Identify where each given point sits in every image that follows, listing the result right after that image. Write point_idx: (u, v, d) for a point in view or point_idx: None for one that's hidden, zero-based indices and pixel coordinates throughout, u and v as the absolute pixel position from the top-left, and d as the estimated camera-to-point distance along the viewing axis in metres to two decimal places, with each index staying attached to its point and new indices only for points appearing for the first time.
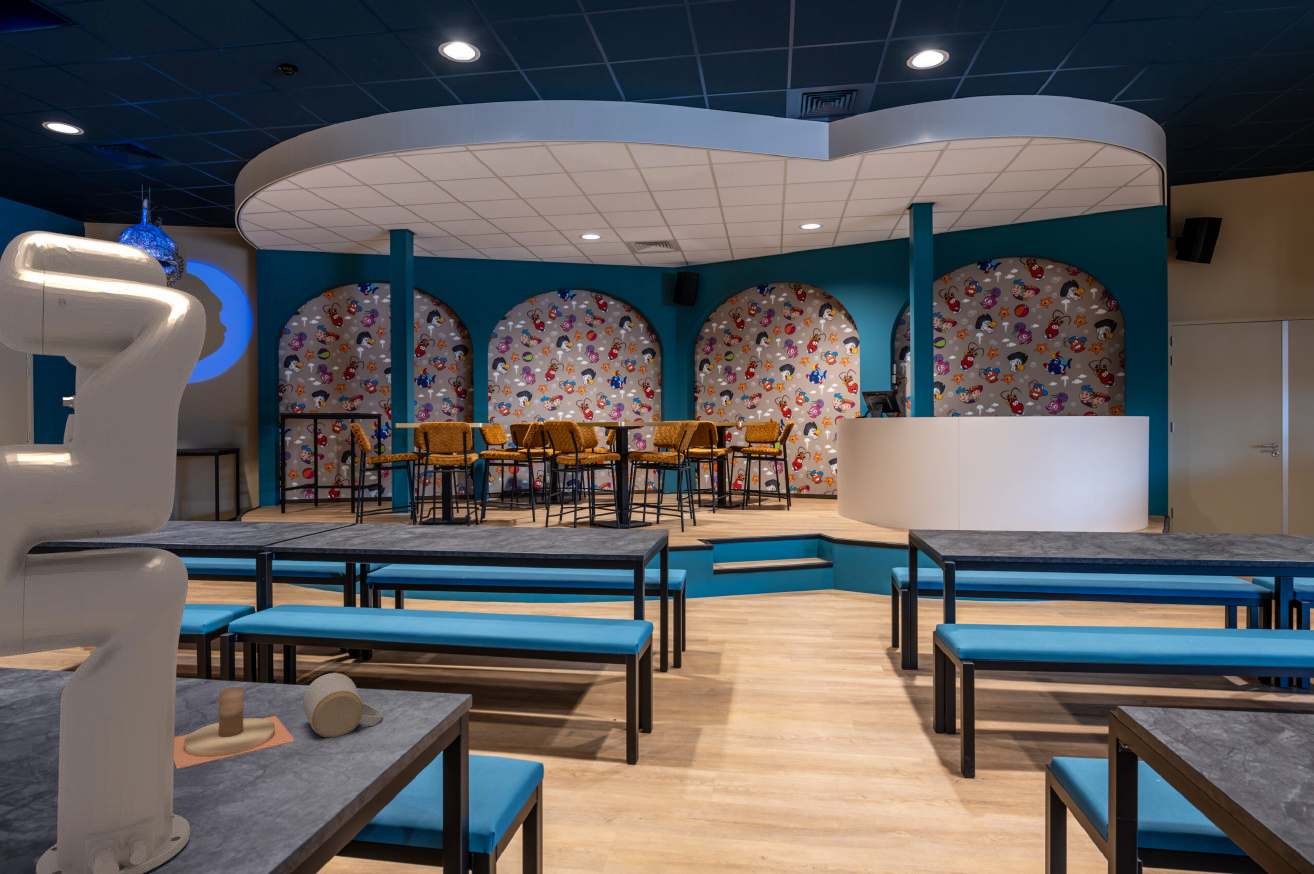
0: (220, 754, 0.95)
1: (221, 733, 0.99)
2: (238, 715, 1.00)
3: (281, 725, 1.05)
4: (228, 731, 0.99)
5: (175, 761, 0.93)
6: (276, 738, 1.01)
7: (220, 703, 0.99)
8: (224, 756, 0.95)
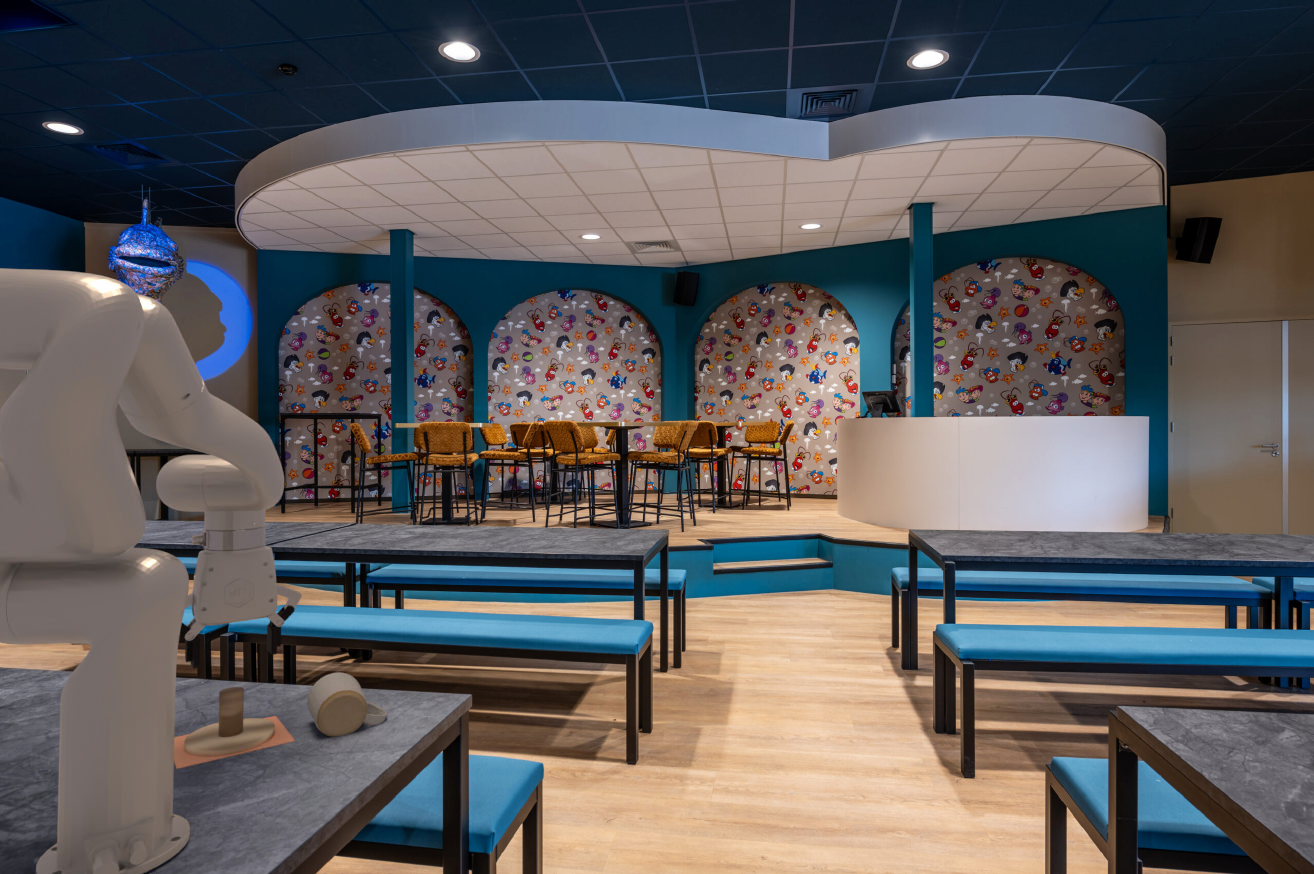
0: (220, 754, 0.95)
1: (221, 733, 0.99)
2: (238, 715, 1.00)
3: (281, 725, 1.05)
4: (228, 731, 0.99)
5: (175, 761, 0.93)
6: (276, 738, 1.01)
7: (220, 703, 0.99)
8: (224, 756, 0.95)
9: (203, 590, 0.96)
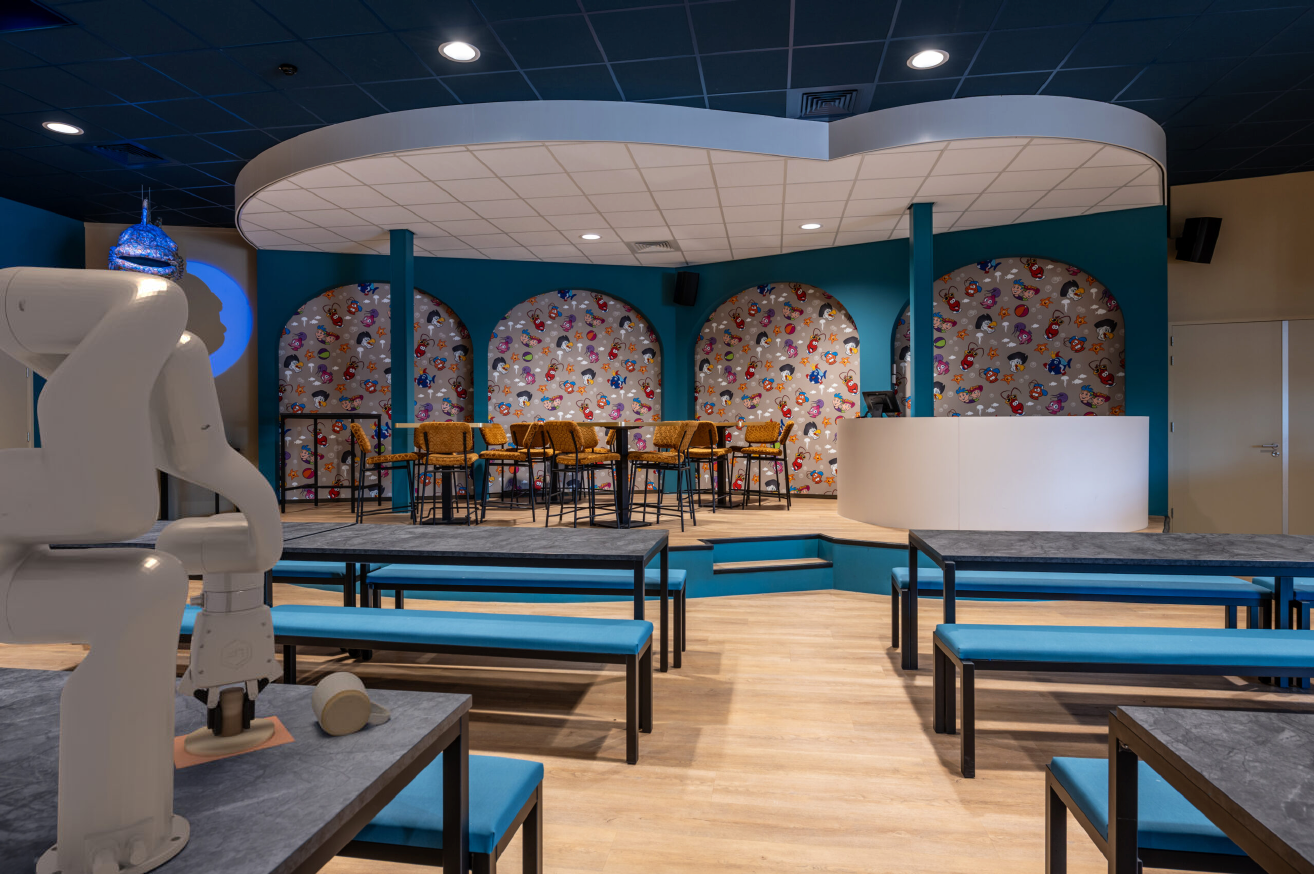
0: (220, 753, 0.95)
1: (221, 733, 0.99)
2: (238, 715, 1.00)
3: (281, 725, 1.05)
4: (228, 731, 0.99)
5: (175, 761, 0.93)
6: (276, 738, 1.01)
7: (220, 703, 0.99)
8: (224, 756, 0.95)
9: (200, 652, 0.96)
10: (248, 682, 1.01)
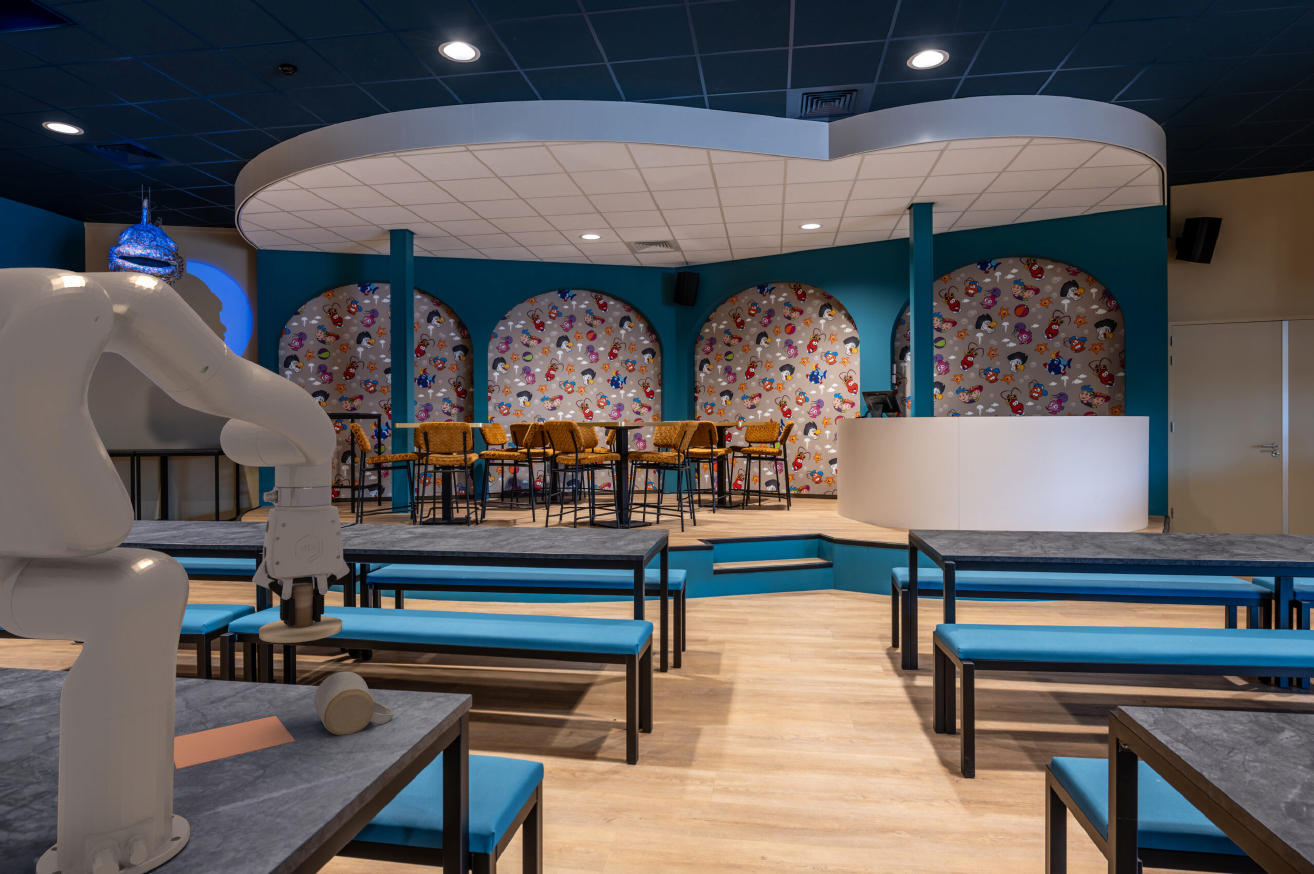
0: (297, 640, 0.99)
1: None
2: (309, 608, 1.04)
3: (281, 725, 1.05)
4: (300, 622, 1.03)
5: (175, 761, 0.93)
6: (276, 738, 1.01)
7: (292, 596, 1.03)
8: (224, 756, 0.95)
9: (276, 544, 1.00)
10: (318, 577, 1.05)
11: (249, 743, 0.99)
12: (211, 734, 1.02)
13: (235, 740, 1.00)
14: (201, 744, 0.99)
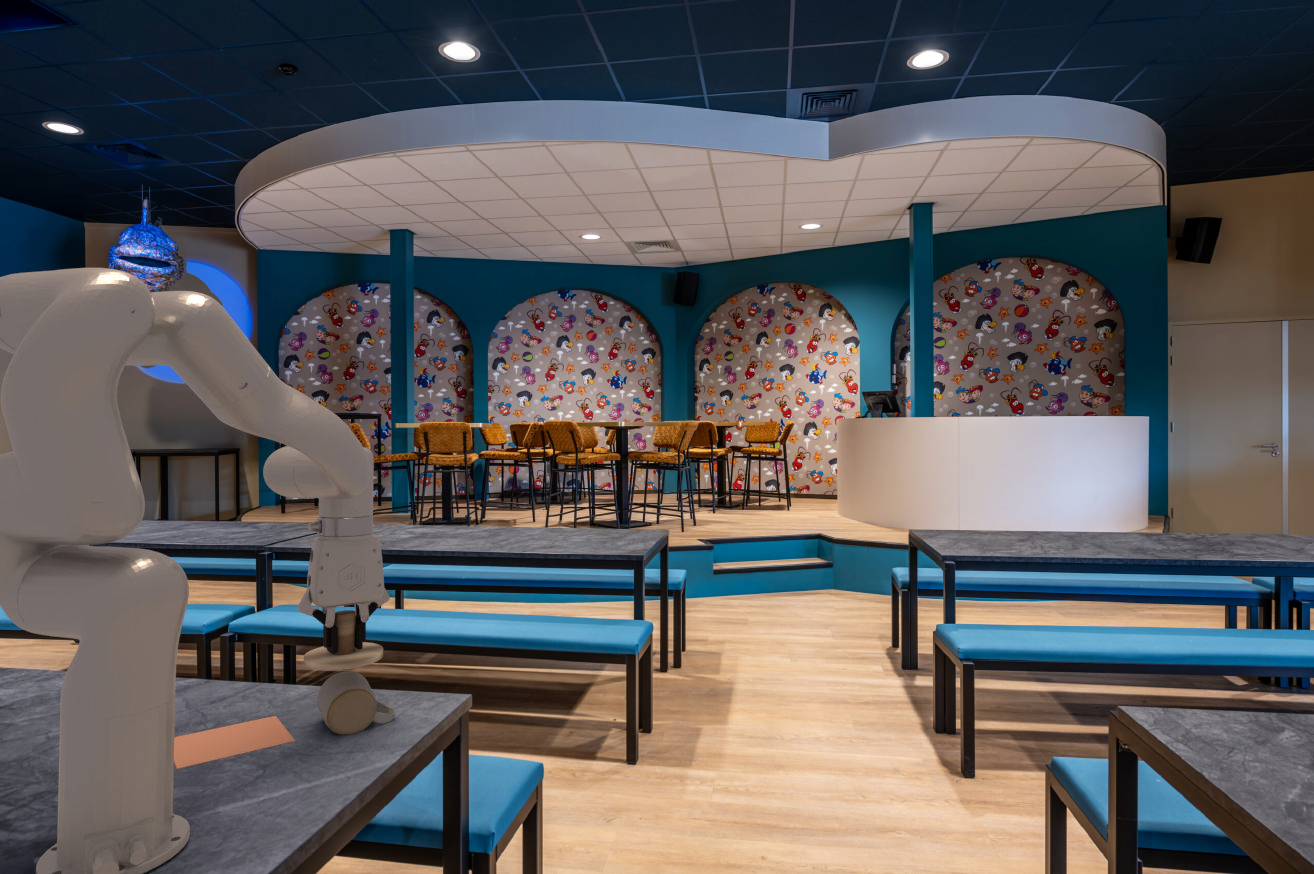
0: (340, 668, 1.01)
1: None
2: (352, 635, 1.06)
3: (281, 725, 1.05)
4: (343, 650, 1.05)
5: (175, 761, 0.93)
6: (276, 738, 1.01)
7: (335, 623, 1.05)
8: (224, 756, 0.95)
9: (320, 574, 1.02)
10: (360, 605, 1.07)
11: (249, 743, 0.99)
12: (211, 734, 1.02)
13: (235, 740, 1.00)
14: (201, 744, 0.99)
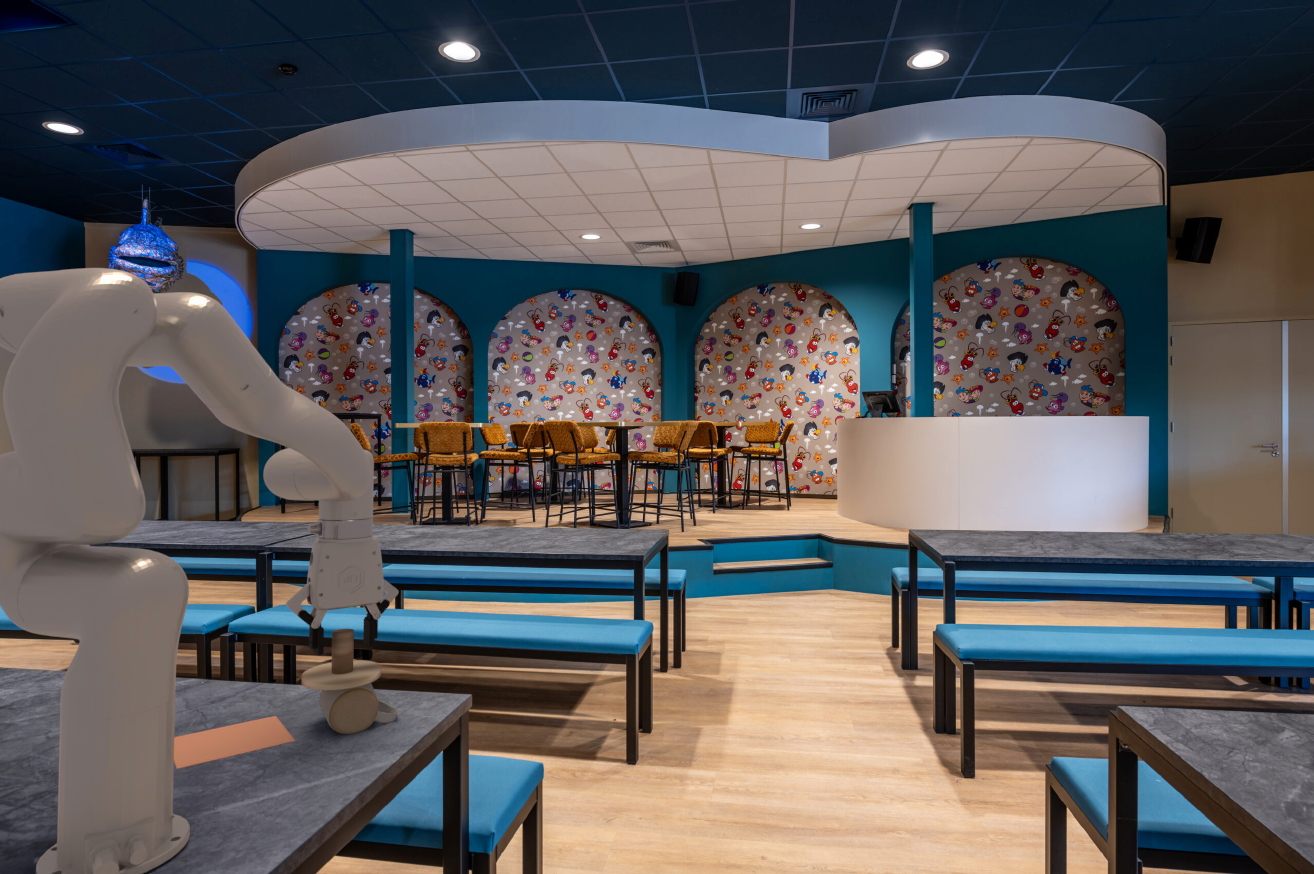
0: (336, 688, 1.01)
1: (334, 670, 1.05)
2: (349, 654, 1.06)
3: (281, 725, 1.05)
4: (341, 669, 1.05)
5: (175, 761, 0.93)
6: (276, 738, 1.01)
7: (333, 642, 1.05)
8: (224, 756, 0.95)
9: (320, 576, 1.02)
10: (368, 605, 1.07)
11: (249, 743, 0.99)
12: (211, 734, 1.02)
13: (235, 740, 1.00)
14: (201, 744, 0.99)
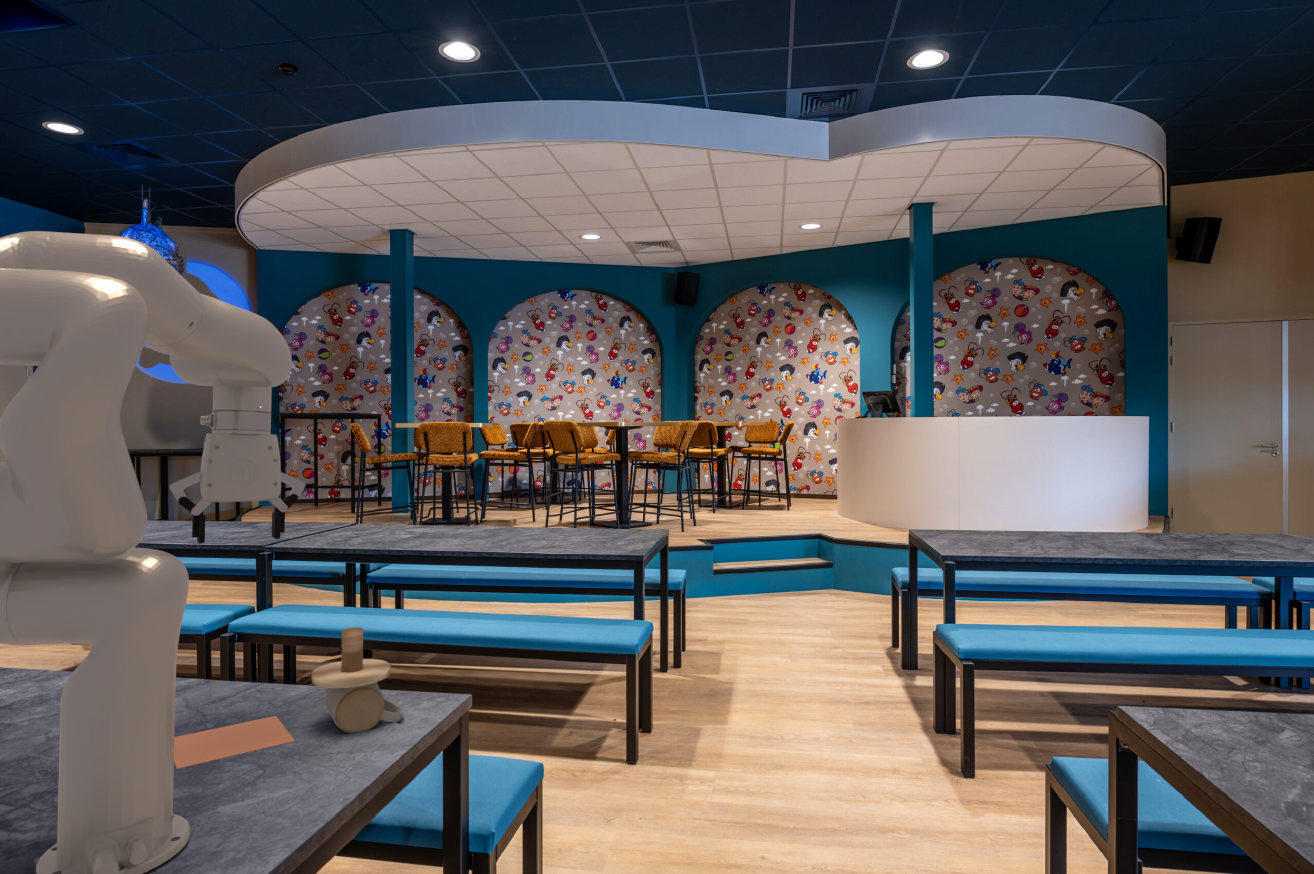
0: (345, 686, 1.02)
1: (344, 669, 1.06)
2: (359, 653, 1.07)
3: (281, 725, 1.05)
4: (350, 667, 1.06)
5: (175, 761, 0.93)
6: (276, 738, 1.01)
7: (343, 641, 1.06)
8: (224, 756, 0.95)
9: (209, 466, 1.00)
10: (270, 500, 1.06)
11: (249, 743, 0.99)
12: (211, 734, 1.02)
13: (235, 740, 1.00)
14: (201, 744, 0.99)
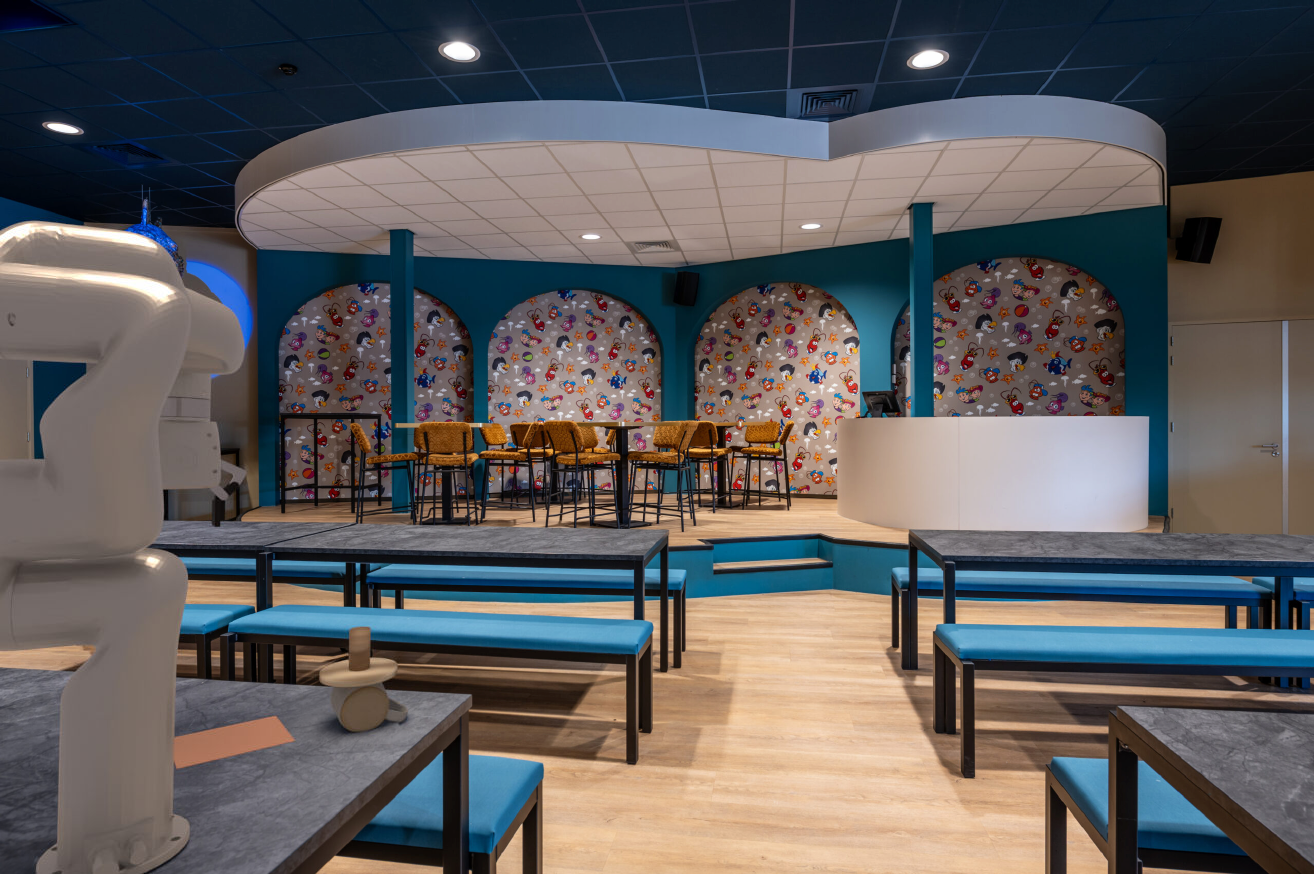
0: (351, 685, 1.02)
1: (351, 667, 1.06)
2: (366, 652, 1.07)
3: (281, 725, 1.05)
4: (357, 666, 1.06)
5: (175, 761, 0.93)
6: (276, 738, 1.01)
7: (350, 640, 1.07)
8: (224, 756, 0.95)
9: None
10: (210, 487, 1.05)
11: (249, 743, 0.99)
12: (211, 734, 1.02)
13: (235, 740, 1.00)
14: (201, 744, 0.99)
